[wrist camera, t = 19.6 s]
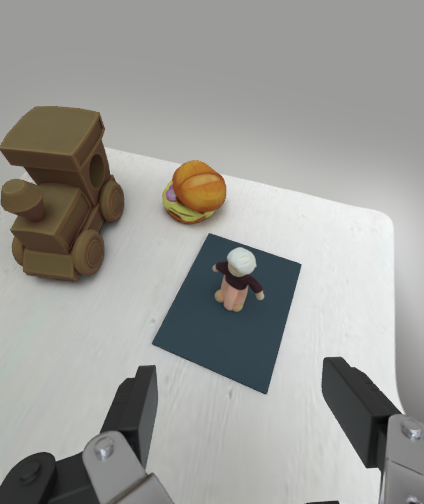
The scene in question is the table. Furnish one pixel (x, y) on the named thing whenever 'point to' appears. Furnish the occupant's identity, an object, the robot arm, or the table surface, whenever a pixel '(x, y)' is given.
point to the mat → (231, 316)
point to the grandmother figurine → (237, 279)
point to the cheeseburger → (194, 192)
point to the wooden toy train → (60, 192)
